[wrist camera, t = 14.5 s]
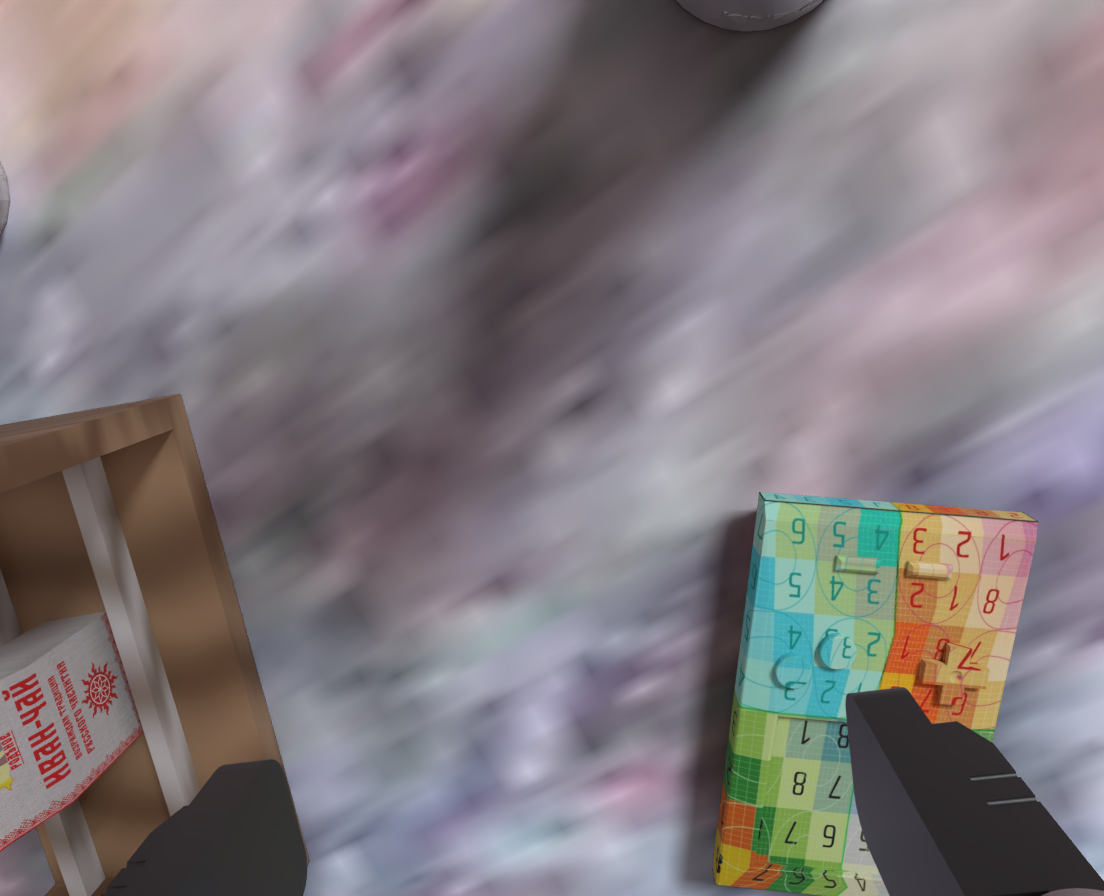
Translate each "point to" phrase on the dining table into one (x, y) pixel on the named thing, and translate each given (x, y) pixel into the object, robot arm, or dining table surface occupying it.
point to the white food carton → (59, 718)
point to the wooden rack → (131, 613)
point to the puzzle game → (854, 667)
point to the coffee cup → (3, 199)
